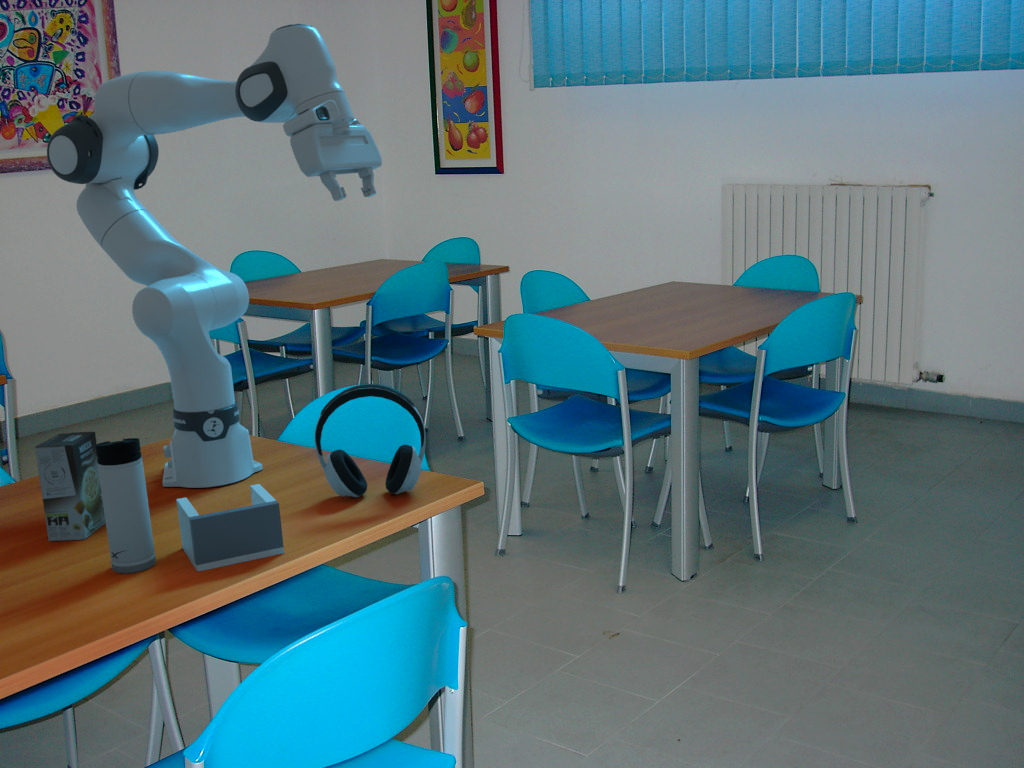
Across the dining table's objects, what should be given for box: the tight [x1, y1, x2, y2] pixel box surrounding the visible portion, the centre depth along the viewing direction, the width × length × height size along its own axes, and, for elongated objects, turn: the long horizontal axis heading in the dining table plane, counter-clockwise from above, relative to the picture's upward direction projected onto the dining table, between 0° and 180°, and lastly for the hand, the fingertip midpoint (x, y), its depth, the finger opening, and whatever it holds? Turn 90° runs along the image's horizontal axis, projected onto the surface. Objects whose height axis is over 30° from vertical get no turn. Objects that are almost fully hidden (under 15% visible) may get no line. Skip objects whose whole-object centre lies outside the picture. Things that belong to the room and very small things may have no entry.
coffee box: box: [34, 431, 106, 542], centre depth 179 cm, size 9×6×16 cm
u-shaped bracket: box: [176, 483, 285, 573], centre depth 167 cm, size 12×13×8 cm
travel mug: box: [95, 437, 157, 575], centre depth 161 cm, size 6×7×20 cm
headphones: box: [314, 383, 427, 498], centre depth 189 cm, size 19×8×20 cm, turn 95°
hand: (356, 197), depth 181 cm, fingers open, 8 cm apart
